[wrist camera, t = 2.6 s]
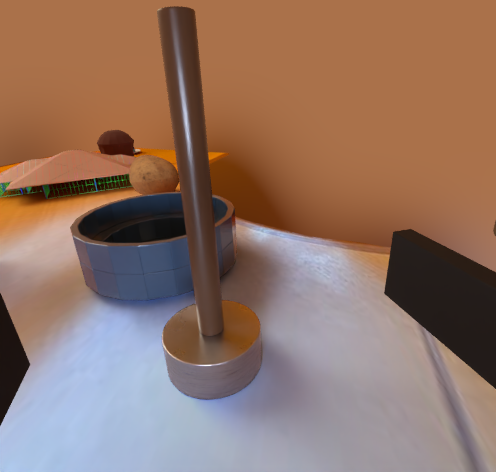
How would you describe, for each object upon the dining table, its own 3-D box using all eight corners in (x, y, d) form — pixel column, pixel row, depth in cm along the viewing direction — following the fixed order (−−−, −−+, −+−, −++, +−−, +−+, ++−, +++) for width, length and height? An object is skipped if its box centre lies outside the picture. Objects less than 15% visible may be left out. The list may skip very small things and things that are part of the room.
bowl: (266, 256, 39) (264, 205, 37) (141, 331, 28) (126, 265, 25) (177, 226, 50) (172, 185, 47) (60, 271, 38) (44, 220, 36)
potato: (142, 209, 58) (134, 165, 55) (126, 193, 70) (118, 155, 67) (192, 199, 63) (187, 158, 60) (169, 185, 74) (164, 150, 71)
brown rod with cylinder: (280, 354, 24) (278, 7, 16) (213, 420, 20) (156, -26, 11) (216, 318, 29) (186, 30, 20) (148, 365, 24) (70, 15, 15)
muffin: (100, 161, 109) (93, 130, 105) (134, 157, 113) (128, 128, 109) (103, 167, 99) (95, 133, 95) (140, 162, 103) (134, 130, 99)
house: (153, 184, 76) (147, 148, 73) (-16, 208, 64) (-32, 167, 60) (138, 168, 95) (133, 139, 92) (6, 184, 83) (-5, 152, 79)
